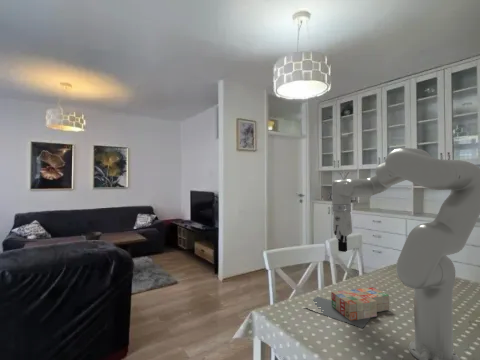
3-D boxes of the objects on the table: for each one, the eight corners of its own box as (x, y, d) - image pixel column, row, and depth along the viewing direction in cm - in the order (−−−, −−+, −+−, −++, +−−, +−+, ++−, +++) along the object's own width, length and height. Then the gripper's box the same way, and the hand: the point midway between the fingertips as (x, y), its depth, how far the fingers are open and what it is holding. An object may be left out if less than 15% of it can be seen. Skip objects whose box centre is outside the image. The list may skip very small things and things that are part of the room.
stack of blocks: (372, 286, 118) (395, 298, 106) (373, 300, 118) (395, 313, 106) (331, 291, 112) (350, 304, 100) (331, 306, 112) (350, 321, 100)
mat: (362, 328, 96) (362, 327, 96) (303, 308, 112) (303, 307, 112) (373, 313, 106) (373, 313, 106) (317, 297, 122) (317, 296, 122)
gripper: (344, 210, 106) (345, 256, 105) (356, 207, 117) (357, 249, 117) (326, 209, 111) (327, 253, 110) (339, 206, 122) (340, 246, 122)
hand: (342, 250), depth 113 cm, fingers closed
